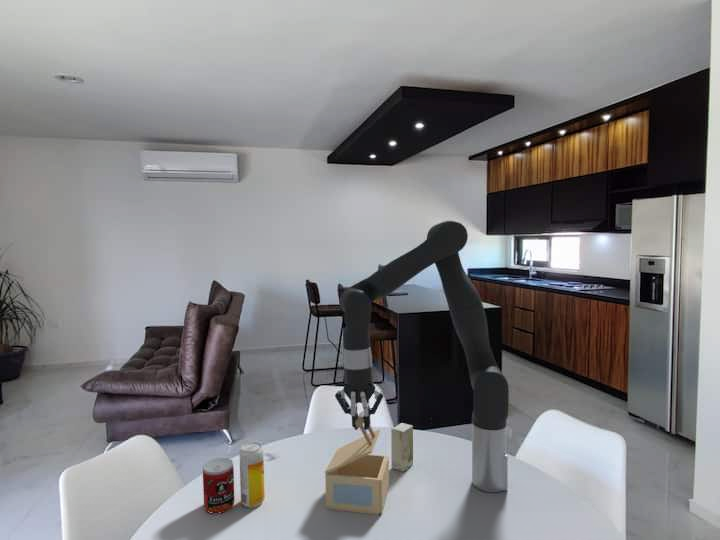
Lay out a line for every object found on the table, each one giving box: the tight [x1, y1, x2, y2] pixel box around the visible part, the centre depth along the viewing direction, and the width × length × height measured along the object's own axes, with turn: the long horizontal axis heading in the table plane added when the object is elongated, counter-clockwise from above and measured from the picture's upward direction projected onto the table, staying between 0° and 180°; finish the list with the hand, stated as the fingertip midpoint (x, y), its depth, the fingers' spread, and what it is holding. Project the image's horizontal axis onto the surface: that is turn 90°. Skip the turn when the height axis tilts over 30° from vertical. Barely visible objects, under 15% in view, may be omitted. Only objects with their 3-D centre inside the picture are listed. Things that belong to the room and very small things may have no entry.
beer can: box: [239, 442, 265, 509], centre depth 115 cm, size 6×6×15 cm
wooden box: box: [324, 453, 390, 516], centre depth 117 cm, size 15×13×9 cm
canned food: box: [202, 457, 235, 513], centre depth 114 cm, size 8×8×11 cm
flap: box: [324, 410, 381, 475], centre depth 117 cm, size 14×13×8 cm
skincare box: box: [390, 422, 414, 472], centre depth 133 cm, size 6×4×12 cm
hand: (361, 428), depth 116 cm, fingers closed on flap, 2 cm apart
